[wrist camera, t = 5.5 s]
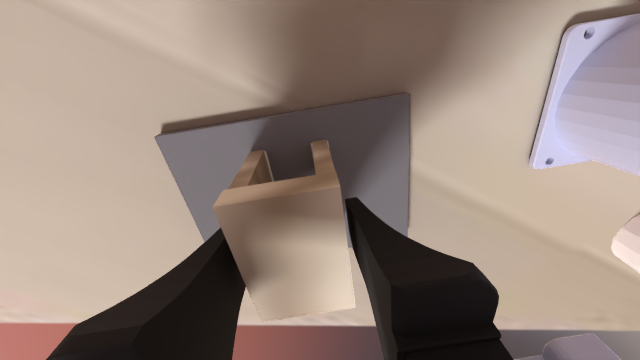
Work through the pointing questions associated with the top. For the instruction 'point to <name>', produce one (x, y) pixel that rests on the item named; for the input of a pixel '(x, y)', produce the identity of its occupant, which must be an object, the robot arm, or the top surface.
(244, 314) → the top surface
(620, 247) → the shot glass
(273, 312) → the two-pronged tan block
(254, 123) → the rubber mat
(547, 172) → the top surface
